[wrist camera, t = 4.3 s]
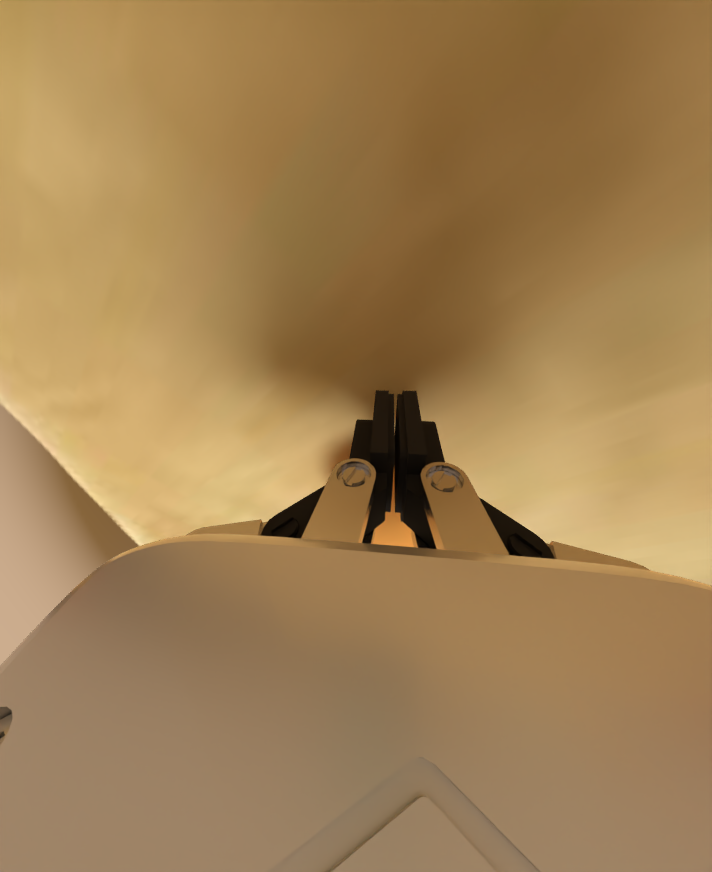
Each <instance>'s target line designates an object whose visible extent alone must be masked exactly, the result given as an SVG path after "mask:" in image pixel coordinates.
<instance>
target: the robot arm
mask: <svg viewBox="0 0 712 872" xmlns="http://www.w3.org/2000/svg"><path fill="white" fill-rule="evenodd" d="M393 474H394V483H395V513H400V517H401V522H403V523H405V524H406V525H407V526H408V527H409V528H410V529H411V537H412V541H413V545H414V547H404V546H392V545H379V544H373V541H374V536H375V528H377V527H378V526H379V525H380V524H382V523H383V522H384V521H385V512H391V501H392V487H393ZM0 872H712V586H711V585H707V584H704V583H700V582H697V581H693V580H689V579H686V578H682V577H678V576H673V575H669V574H664V573H659V572H654V571H651V570H649V569H647V568H646V567H644V566H642V565H639V564H636V563H634V562H631V561H627V560H623V559H620V558H616V557H612V556H608V555H604V554H600V553H597V552H593V551H589V550H585V549H581V548H577V547H573V546H570V545H566V544H562V543H558V542H554V541H552V542H551V543H550V544H547V543H545V542H544V541H543V540H542V539H541V538H540V537H538V536H537V535H536V534H534V533H533V532H531V531H530V530H528V529H527V528H525V527H524V526H522V525H521V524H519V523H518V522H516V521H515V520H513V519H511V518H510V517H508V516H507V515H505V514H504V513H502V512H501V511H499V510H498V509H496V508H495V507H493V506H492V505H490V504H488V503H487V502H485V501H484V500H482V499H481V498H479V497H478V495H477V493H476V491H475V490H474V488H473V486H472V484H471V482H470V480H469V478H468V477H467V475H466V474H465V473H464V471H462V470H461V469H460V468H459V467H457V466H455V465H452V464H449V463H445V461H444V457H443V453H442V449H441V444H440V440H439V436H438V432H437V428H436V424H435V422H427V421H421V416H420V410H419V404H418V398H417V392H416V391H403V393H402V394H398V395H397V409H396V424H395V433H394V394H389V391H379V390H376V395H375V405H374V416H373V420H357V421H356V426H355V431H354V437H353V442H352V447H351V453H350V458H349V459H346V460H344V461H341V462H340V463H338V464H337V465H336V466H335V467H334V469H333V470H332V472H331V475H330V477H329V479H328V481H327V483H326V485H325V486H323V487H322V488H320V489H318V490H317V491H315V492H313V493H312V494H310V495H308V496H307V497H305V498H303V499H302V500H300V501H298V502H297V503H295V504H293V505H292V506H290V507H288V508H287V509H285V510H283V511H282V512H280V513H278V514H277V515H275V516H274V517H273V518H271V519H270V520H269V521H268V522H263V523H262V521H261V520H253V521H246V522H239V523H232V524H225V525H218V526H210V527H203V528H200V529H196V530H194V531H192V532H191V533H189V534H187V535H186V536H179V537H173V538H167V539H163V540H159V541H156V542H152V543H148V544H145V545H142V546H139V547H136V548H134V549H131V550H128V551H126V552H124V553H121V554H119V555H117V556H116V557H114V558H112V559H110V560H108V561H107V562H105V563H104V564H103V565H101V566H100V567H99V568H97V569H96V570H95V571H93V572H92V573H91V574H90V575H89V576H88V577H87V578H85V579H84V580H83V581H82V582H81V583H80V584H79V585H78V586H76V587H75V588H74V589H73V590H72V591H71V592H70V593H69V594H68V595H67V596H66V597H65V598H64V599H63V600H62V601H61V602H60V603H59V604H58V605H57V606H56V607H55V608H54V609H53V610H52V611H51V612H50V613H49V614H48V615H47V616H46V617H45V618H44V619H43V621H42V622H41V623H40V624H39V625H38V626H37V627H36V628H35V629H34V630H33V631H32V632H31V633H30V634H29V635H28V636H27V637H26V638H25V640H24V641H23V642H22V643H21V644H20V645H19V646H18V647H17V648H16V649H15V651H13V652H12V654H11V655H10V656H9V657H8V658H7V659H6V660H5V661H4V662H3V663H2V664H1V666H0Z"/></svg>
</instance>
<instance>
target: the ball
mask: <svg viewBox="0 0 712 872" xmlns="http://www.w3.org/2000/svg"><path fill="white" fill-rule="evenodd" d="M373 544H379V545H392V546H404V547H414V545H413V541H412V537H411V529H410V528H409V527H408V526H407V525H406V524H405V523H403V522H401V517H400V513H395V483H394V474H393V487H392V501H391V512H385V521H384V522H383V523H382V524H380V525H379V526H378V527H377V528H375V536H374V541H373Z"/></svg>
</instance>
